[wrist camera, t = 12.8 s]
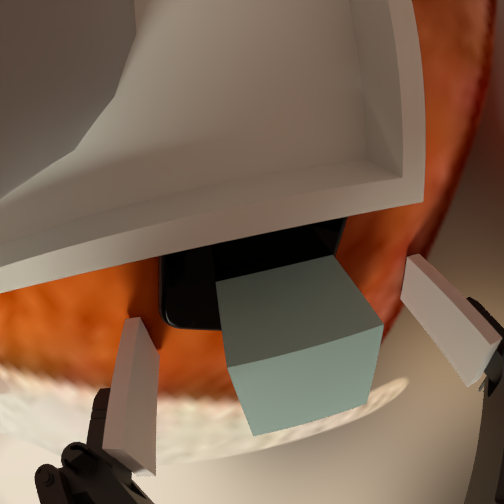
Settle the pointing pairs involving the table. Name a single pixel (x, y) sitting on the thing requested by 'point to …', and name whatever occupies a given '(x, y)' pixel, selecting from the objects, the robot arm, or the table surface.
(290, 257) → the smartphone
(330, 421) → the table surface
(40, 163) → the cup
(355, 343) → the block
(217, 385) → the table surface
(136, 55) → the shallow white dish
